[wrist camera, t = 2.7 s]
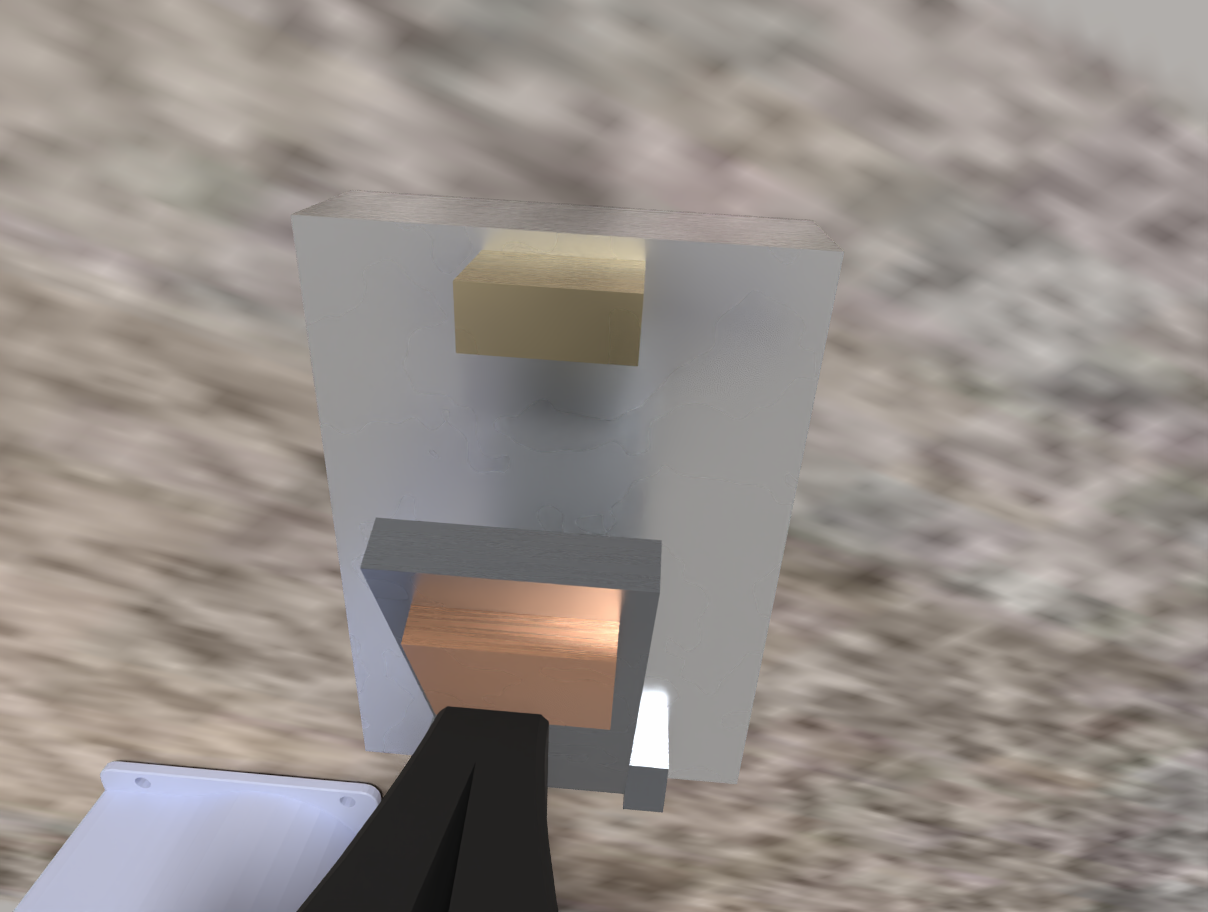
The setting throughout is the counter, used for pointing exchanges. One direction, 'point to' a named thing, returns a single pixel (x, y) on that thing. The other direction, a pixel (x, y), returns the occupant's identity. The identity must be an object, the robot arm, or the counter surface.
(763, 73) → the counter surface
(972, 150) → the counter surface
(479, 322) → the base block
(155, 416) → the counter surface
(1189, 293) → the counter surface
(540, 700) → the grey slab
